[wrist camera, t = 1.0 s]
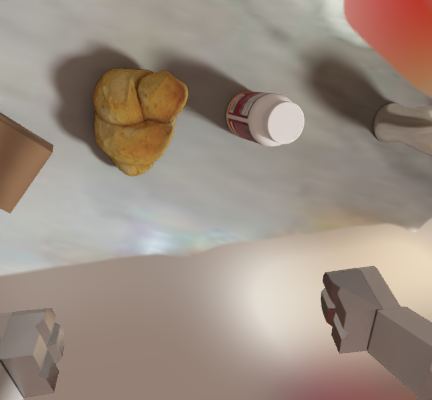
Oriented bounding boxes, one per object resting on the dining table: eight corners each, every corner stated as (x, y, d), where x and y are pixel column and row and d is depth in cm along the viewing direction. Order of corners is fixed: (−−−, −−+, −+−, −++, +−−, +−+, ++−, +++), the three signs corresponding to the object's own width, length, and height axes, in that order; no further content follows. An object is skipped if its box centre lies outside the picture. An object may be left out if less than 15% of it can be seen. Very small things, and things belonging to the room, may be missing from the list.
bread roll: (156, 176, 53) (171, 193, 46) (79, 163, 49) (81, 178, 42) (178, 77, 50) (197, 78, 43) (98, 54, 47) (105, 51, 39)
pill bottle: (266, 135, 57) (309, 148, 47) (225, 139, 55) (261, 154, 45) (266, 89, 55) (311, 93, 45) (223, 92, 53) (261, 96, 43)
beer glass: (412, 104, 64) (505, 113, 50) (399, 148, 65) (486, 167, 52) (378, 95, 61) (467, 102, 48) (365, 141, 63) (447, 160, 49)
